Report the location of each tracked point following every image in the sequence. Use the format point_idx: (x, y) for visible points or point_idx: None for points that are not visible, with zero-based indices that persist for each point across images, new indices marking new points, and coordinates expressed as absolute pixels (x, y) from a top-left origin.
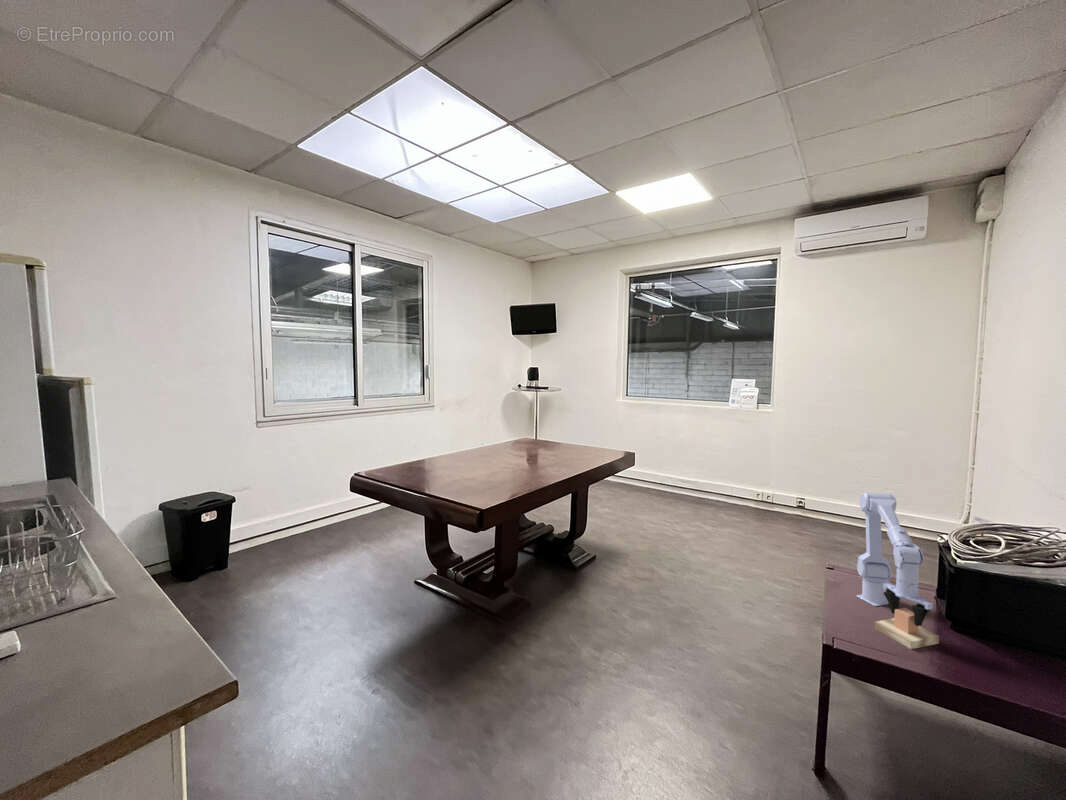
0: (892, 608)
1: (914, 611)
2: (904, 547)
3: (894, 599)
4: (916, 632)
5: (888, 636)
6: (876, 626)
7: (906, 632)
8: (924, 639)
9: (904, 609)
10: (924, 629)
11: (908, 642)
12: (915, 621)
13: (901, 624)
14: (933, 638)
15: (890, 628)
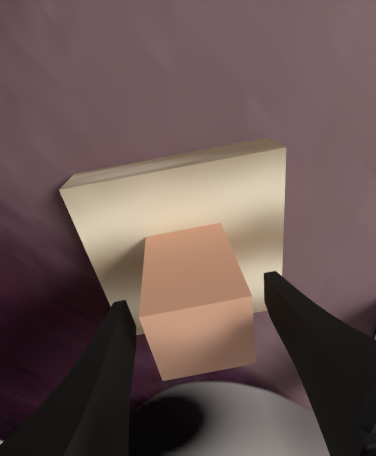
0: (282, 296)
1: (78, 403)
2: None
3: (322, 380)
4: None
5: (189, 152)
6: (265, 144)
7: (153, 236)
8: (96, 272)
9: (235, 350)
10: None
11: (75, 182)
12: (110, 320)
13: (183, 248)
14: None
15: (203, 184)
